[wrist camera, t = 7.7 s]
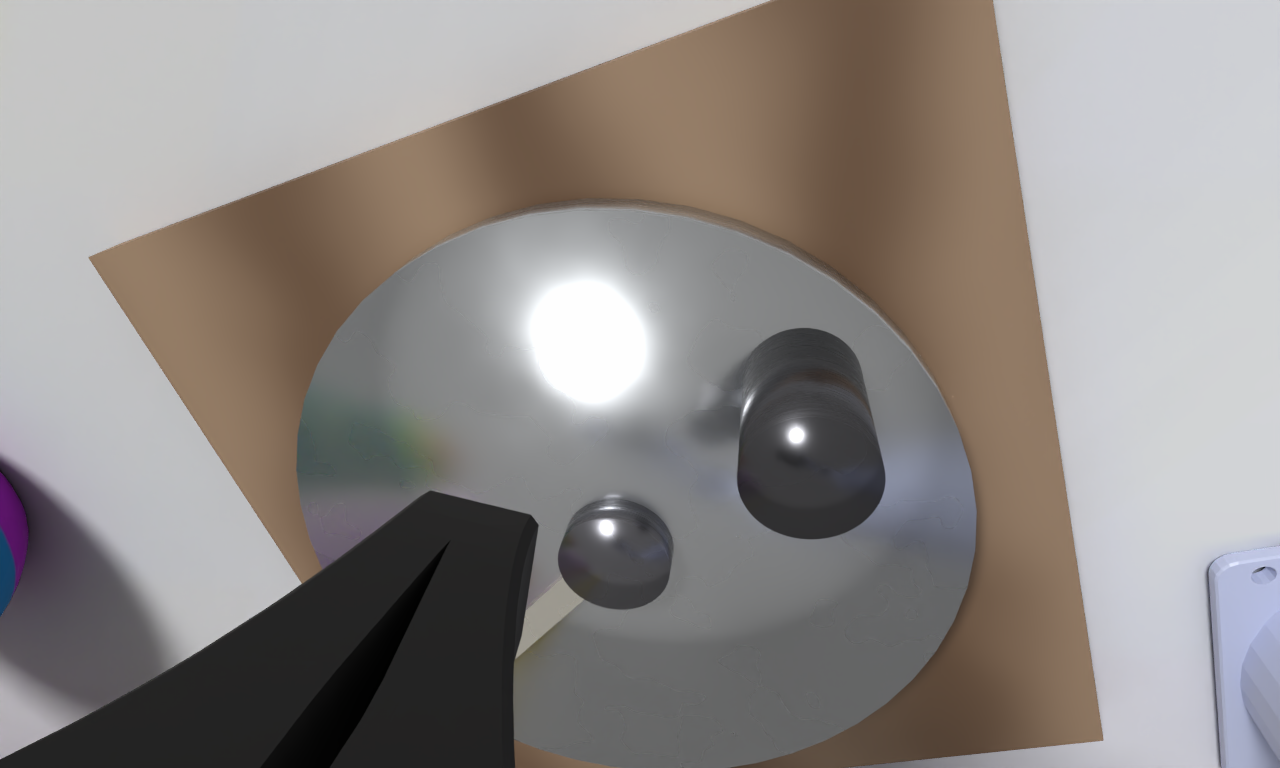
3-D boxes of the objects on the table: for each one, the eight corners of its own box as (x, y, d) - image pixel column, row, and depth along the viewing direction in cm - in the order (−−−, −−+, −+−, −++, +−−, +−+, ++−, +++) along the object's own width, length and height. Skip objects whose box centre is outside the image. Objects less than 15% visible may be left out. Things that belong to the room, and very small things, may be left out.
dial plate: (968, -74, 14) (1045, -89, 10) (1090, 709, 22) (1160, 871, 18) (118, 244, 20) (-45, 313, 16) (459, 782, 28) (408, 918, 24)
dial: (1120, 524, 18) (1223, 686, 14) (654, 818, 25) (633, 981, 21) (565, 19, 15) (489, 39, 11) (211, 519, 22) (85, 644, 18)
